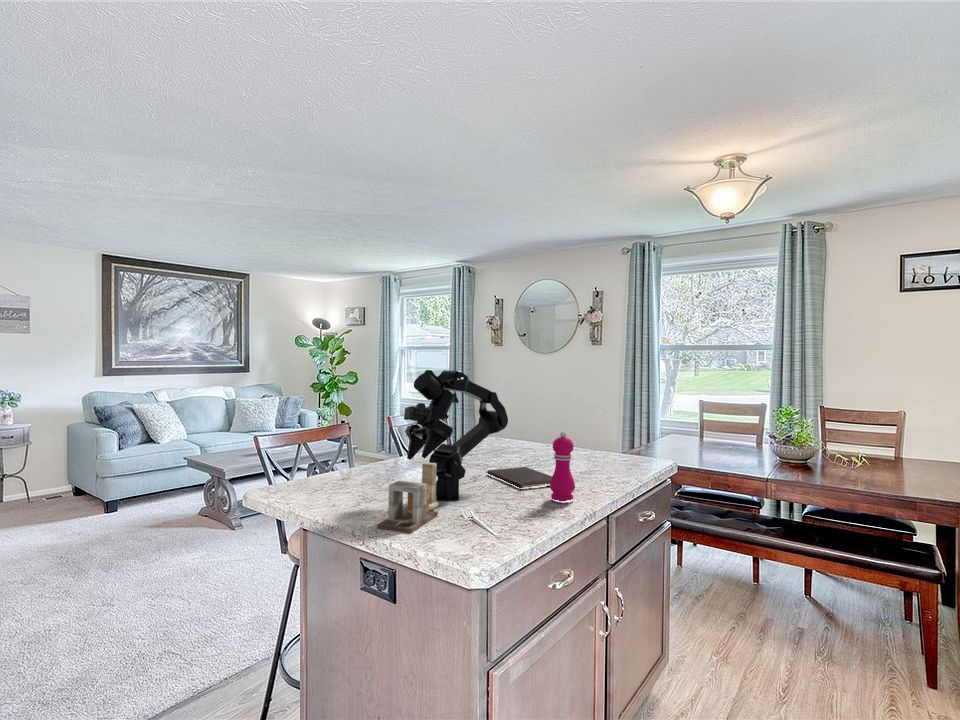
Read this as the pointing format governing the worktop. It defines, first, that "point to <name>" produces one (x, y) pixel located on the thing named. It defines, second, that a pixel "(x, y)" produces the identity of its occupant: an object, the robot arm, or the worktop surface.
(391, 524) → the tunnel
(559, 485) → the pepper mill
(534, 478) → the hardcover book
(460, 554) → the worktop surface
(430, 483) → the beige orange stepped block
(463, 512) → the fork
